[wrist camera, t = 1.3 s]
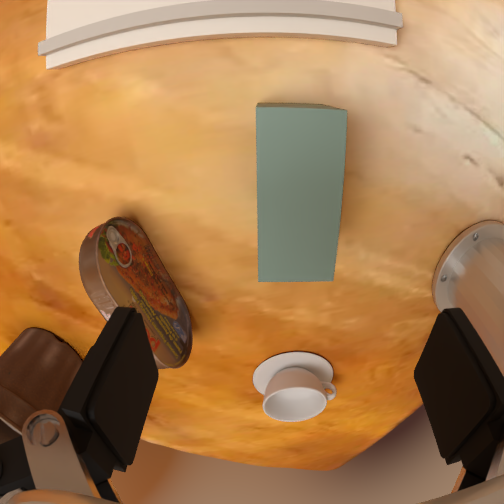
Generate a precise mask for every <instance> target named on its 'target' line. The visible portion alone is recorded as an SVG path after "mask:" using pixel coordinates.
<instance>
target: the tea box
mask: <svg viewBox="0 0 504 504" xmlns="http://www.w3.org/2000/svg"><path fill="white" fill-rule="evenodd" d="M346 132H347V110H343V109H339V108H335V107H331V106H326V105H322V104H300V103H258V104H257V106H256V147H257V214H258V282H311V281H333V278H334V271H335V263H336V255H337V246H338V237H339V228H340V218H341V207H342V195H343V183H344V168H345V152H346Z"/></svg>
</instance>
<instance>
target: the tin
mask: <svg viewBox="0 0 504 504" xmlns="http://www.w3.org/2000/svg"><path fill="white" fill-rule="evenodd" d="M79 270H80V275H81V280H82V283H83V286H84V288H85V290H86V292H87V294H88V296H89V297H90V299H91V301H92V302H93V303H94V305H95V306H96V308H97V309H98V310H99V312H100V313H101V315H102V316H103V317H104V319H105V320H106V321H108V320H109V318H110V316H111V315H112V313H113V311H114V310H115V308H116V307H118V306H120V307H133V308H135V309H136V310H137V313H141V314H142V317H143V321H144V324H145V328H146V331H147V335H148V339H149V342H150V345H151V349H152V352H153V355H154V359H155V362H156V365H157V368H158V369H165V368H179V367H181V366H183V365H184V364H185V363H186V362H187V360H188V358H189V356H190V353H191V349H192V339H193V338H192V325H191V319H190V315H189V312H188V309H187V307H186V304H185V302H184V300H183V298H182V296H181V295H180V293H179V291H178V290H177V288H176V286H175V285H174V283H173V281H172V280H171V278H170V276H169V275H168V273H167V271H166V270H165V268H164V266H163V264H162V263H161V261H160V259H159V257H158V256H157V254H156V252H155V250H154V248H153V247H152V245H151V243H150V241H149V239H148V238H147V236H146V235H145V233H144V232H143V231H142V230H141V228H140V227H139V226H138V225H137V224H135V223H134V222H133V221H131V220H129V219H127V218H124V217H114V218H112V219H110V220H108V221H107V222H106V223H104V224H101V225H99V226H97V227H95V228H94V229H92V230H91V231H90V232H89V233H88V234H87V236H86V237H85V239H84V241H83V243H82V245H81V248H80V253H79Z"/></svg>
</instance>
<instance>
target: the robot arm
mask: <svg viewBox="0 0 504 504" xmlns="http://www.w3.org/2000/svg"><path fill="white" fill-rule="evenodd" d="M432 295H433V299H434V302H435V304H436V306H437V308H438V309H439V310H440V312H441V313H440V314H439V315H438V316H437V319H436V321H435V324H434V326H433V329H432V331H431V334H430V336H429V338H428V341H427V343H426V345H425V348H424V350H423V352H422V354H421V357H420V359H419V361H418V363H417V365H416V367H415V370H414V379H415V382H416V384H417V387H418V390H419V392H420V395H421V398H422V400H423V403H424V406H425V409H426V412H427V415H428V417H429V421H430V423H431V426H432V430H433V433H434V436H435V439H436V442H437V445H438V448H439V452H440V455H441V456H442V458H445V460H446V463H447V465H449V464H452V463H455V462H459V461H460V460H461V461H462V464H463V467H462V469H461V472H460V474H459V476H458V479H457V481H456V483H455V486H454V488H453V490H452V492H451V494H448V495H445V496H442V497H439V498H436V499H432V500H429V501H425V502H421V503H418V504H504V224H503V223H500V222H498V221H490V220H489V221H483V222H480V223H477V224H475V225H473V226H471V227H469V228H468V229H466V230H465V231H463V232H462V233H461V234H460V235H459V236H458V237H457V238H455V240H454V241H453V242H452V243H451V244H450V245H449V247H448V248H447V250H446V251H445V253H444V254H443V256H442V257H441V259H440V261H439V263H438V265H437V268H436V271H435V274H434V278H433V284H432ZM157 381H158V368H157V365H156V362H155V359H154V355H153V352H152V349H151V345H150V342H149V339H148V335H147V331H146V328H145V324H144V321H143V317H142V314H141V313H137V310H136V309H135V308H133V307H120V306H118V307H116V308H115V310H114V311H113V313H112V315H111V316H110V318H109V320H108V321H107V323H106V325H105V327H104V328H103V330H102V332H101V334H100V335H99V337H98V339H97V341H96V343H95V344H94V345H93V346H92V347H91V348H90V350H89V351H88V353H87V355H86V357H85V359H84V361H83V362H82V364H81V366H80V368H79V370H78V372H77V374H76V375H75V377H74V379H73V381H72V383H71V385H70V387H69V389H68V391H67V393H66V395H65V397H64V399H63V401H62V403H61V405H60V407H59V409H58V411H57V412H55V411H52V410H46V409H44V410H39V411H37V412H35V413H33V414H31V415H30V416H29V417H28V418H27V420H26V421H25V423H24V425H23V429H22V435H21V436H19V437H16V438H14V439H12V440H9V441H7V442H4V443H2V444H0V504H124V503H123V502H122V500H121V498H120V496H119V494H118V493H117V491H116V489H115V487H114V485H113V483H112V481H111V479H110V478H111V475H112V472H113V469H114V470H119V471H122V472H126V468H127V465H131V464H132V463H133V460H134V457H135V454H136V450H137V447H138V443H139V440H140V437H141V433H142V430H143V426H144V423H145V420H146V416H147V413H148V410H149V407H150V403H151V400H152V397H153V394H154V391H155V388H156V384H157Z"/></svg>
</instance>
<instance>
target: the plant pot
mask: <svg viewBox="0 0 504 504" xmlns="http://www.w3.org/2000/svg"><path fill="white" fill-rule="evenodd" d="M81 364H82V360H81V359H80V357H79V356H78V355H77V353H76V352H75V351H74V350H73V349H72V348H71V347H70V346H69V345H68V344H67V343H64V342H60V341H58V340H57V339H56V338H55V336H54V334H52V333H50V332H48V331H46V330H43V329H39V328H28V329H25V330H24V331H23V332H22V333H21V334H20V335H19V337H18V338H17V339H16V340H15V341H14V342H13V343H12V344H11V345H10V346H9V347H8V348H7V350H6V351H5V352H4V353H3V354H2V355H1V356H0V444H2V443H4V442H7V441H9V440H12V439H14V438H16V437H19V436H21V435H22V429H23V425H24V423H25V421H26V420H27V418H28V417H29V416H30V415H31V414H33V413H35V412H37V411H39V410H44V409H46V410H52V411H55V412H57V411H58V409H59V407H60V405H61V403H62V401H63V399H64V397H65V395H66V393H67V391H68V389H69V387H70V385H71V383H72V381H73V379H74V377H75V375H76V374H77V372H78V370H79V368H80V366H81Z"/></svg>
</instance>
